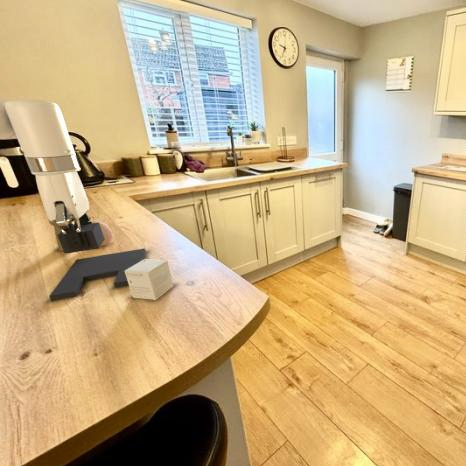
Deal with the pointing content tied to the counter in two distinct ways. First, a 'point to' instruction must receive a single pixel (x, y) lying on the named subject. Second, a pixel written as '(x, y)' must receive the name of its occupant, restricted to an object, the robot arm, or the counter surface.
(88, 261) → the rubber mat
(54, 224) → the olive pepper mill
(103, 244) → the egg
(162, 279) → the product box
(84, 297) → the counter surface
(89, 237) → the foam pad
